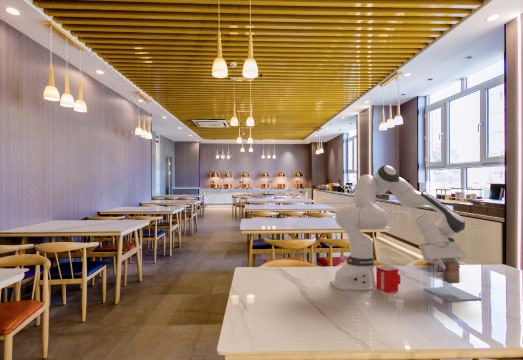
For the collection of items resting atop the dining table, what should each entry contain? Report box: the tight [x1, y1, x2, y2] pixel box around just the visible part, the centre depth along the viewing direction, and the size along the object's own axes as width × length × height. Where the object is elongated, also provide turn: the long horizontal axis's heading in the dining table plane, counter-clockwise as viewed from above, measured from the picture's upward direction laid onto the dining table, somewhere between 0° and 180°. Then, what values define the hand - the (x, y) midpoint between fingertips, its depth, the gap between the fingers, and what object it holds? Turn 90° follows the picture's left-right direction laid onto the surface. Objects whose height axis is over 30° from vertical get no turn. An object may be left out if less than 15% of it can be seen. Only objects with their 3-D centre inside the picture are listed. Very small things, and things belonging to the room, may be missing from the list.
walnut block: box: [442, 261, 460, 284], centre depth 143 cm, size 4×5×9 cm
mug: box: [375, 264, 401, 294], centre depth 148 cm, size 12×8×11 cm
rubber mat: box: [423, 285, 482, 303], centre depth 143 cm, size 16×16×1 cm
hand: (451, 268), depth 142 cm, fingers closed on walnut block, 5 cm apart
